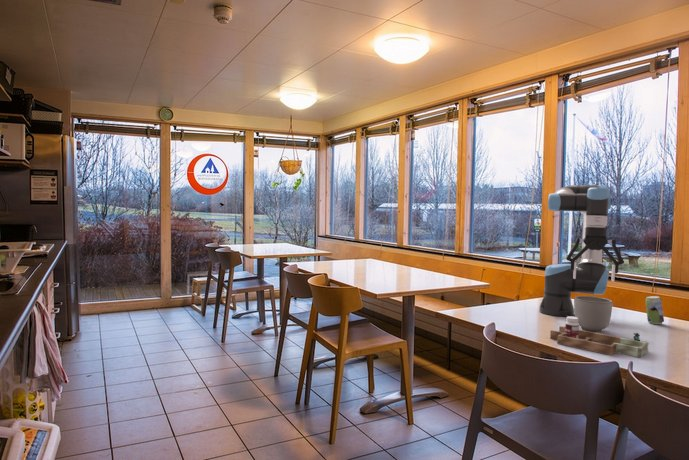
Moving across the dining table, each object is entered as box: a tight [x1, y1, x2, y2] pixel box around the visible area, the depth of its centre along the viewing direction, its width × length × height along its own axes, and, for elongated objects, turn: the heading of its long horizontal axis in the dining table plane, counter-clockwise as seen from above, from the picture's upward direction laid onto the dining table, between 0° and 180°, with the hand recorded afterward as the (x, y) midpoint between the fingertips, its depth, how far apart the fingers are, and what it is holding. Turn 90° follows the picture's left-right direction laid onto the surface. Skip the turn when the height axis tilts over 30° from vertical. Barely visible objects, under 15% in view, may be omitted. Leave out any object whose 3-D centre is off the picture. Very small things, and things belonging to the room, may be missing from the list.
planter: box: [573, 295, 613, 333], centre depth 193 cm, size 14×14×13 cm
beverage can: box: [644, 295, 665, 325], centre depth 208 cm, size 6×7×12 cm
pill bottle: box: [564, 316, 580, 339], centre depth 179 cm, size 5×5×8 cm
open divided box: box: [549, 325, 649, 358], centre depth 171 cm, size 30×15×3 cm, turn 46°
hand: (593, 280), depth 188 cm, fingers open, 13 cm apart
